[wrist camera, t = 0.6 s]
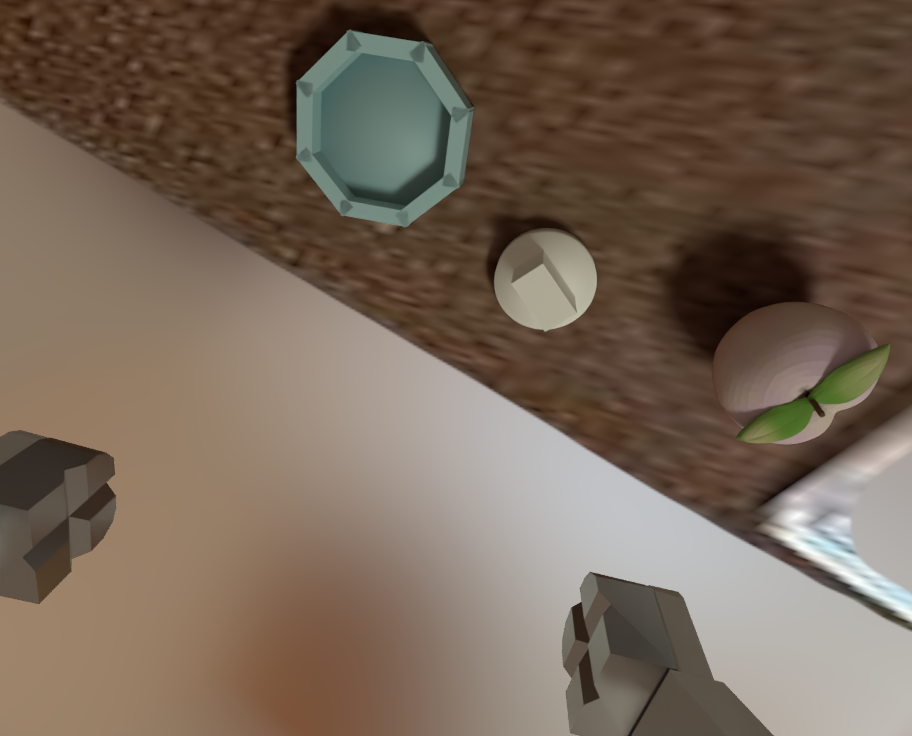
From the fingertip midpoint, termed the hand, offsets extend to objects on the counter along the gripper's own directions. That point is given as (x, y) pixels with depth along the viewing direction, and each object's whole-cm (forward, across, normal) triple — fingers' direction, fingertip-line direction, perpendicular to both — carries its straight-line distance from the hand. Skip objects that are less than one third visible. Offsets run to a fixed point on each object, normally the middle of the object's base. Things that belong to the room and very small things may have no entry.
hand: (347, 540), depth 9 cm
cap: (+32, -6, +2) cm, 33 cm away
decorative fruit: (+31, -22, +2) cm, 38 cm away
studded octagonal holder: (+32, +7, -5) cm, 33 cm away
